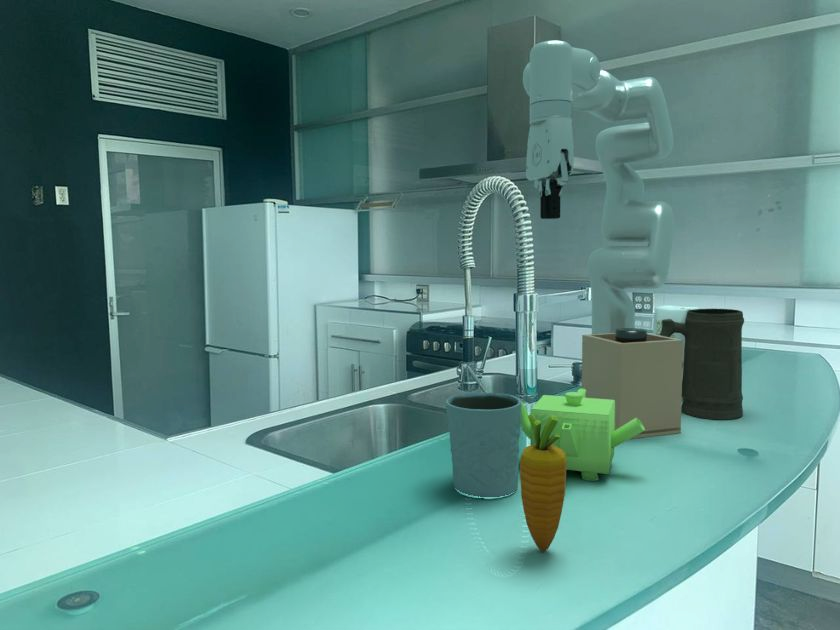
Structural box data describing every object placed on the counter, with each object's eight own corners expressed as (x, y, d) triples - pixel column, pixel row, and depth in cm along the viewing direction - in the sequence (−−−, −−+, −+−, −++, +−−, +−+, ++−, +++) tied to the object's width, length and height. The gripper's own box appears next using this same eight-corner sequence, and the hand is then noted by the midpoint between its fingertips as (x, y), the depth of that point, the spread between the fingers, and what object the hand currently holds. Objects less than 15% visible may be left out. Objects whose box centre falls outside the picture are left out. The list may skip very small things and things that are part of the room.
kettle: (502, 461, 97) (502, 388, 95) (577, 447, 103) (578, 378, 101) (565, 495, 83) (566, 410, 82) (647, 477, 89) (649, 398, 88)
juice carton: (663, 389, 142) (665, 304, 140) (703, 395, 136) (705, 306, 134) (647, 395, 136) (649, 306, 134) (688, 401, 130) (690, 309, 128)
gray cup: (504, 507, 79) (504, 413, 78) (433, 493, 84) (431, 404, 83) (532, 480, 88) (532, 395, 87) (465, 469, 93) (465, 388, 92)
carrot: (514, 541, 70) (514, 408, 69) (558, 539, 71) (559, 406, 69) (525, 564, 65) (525, 420, 64) (573, 561, 66) (574, 418, 64)
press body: (574, 418, 120) (575, 333, 118) (630, 412, 123) (631, 329, 121) (619, 439, 106) (621, 344, 104) (680, 432, 109) (683, 340, 108)
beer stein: (734, 405, 127) (730, 305, 125) (757, 420, 116) (753, 310, 114) (654, 410, 128) (649, 311, 126) (669, 424, 118) (664, 317, 116)
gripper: (513, 122, 121) (514, 220, 123) (552, 105, 107) (551, 216, 109) (549, 124, 123) (549, 220, 125) (591, 107, 109) (590, 216, 111)
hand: (550, 218), depth 117 cm, fingers closed
